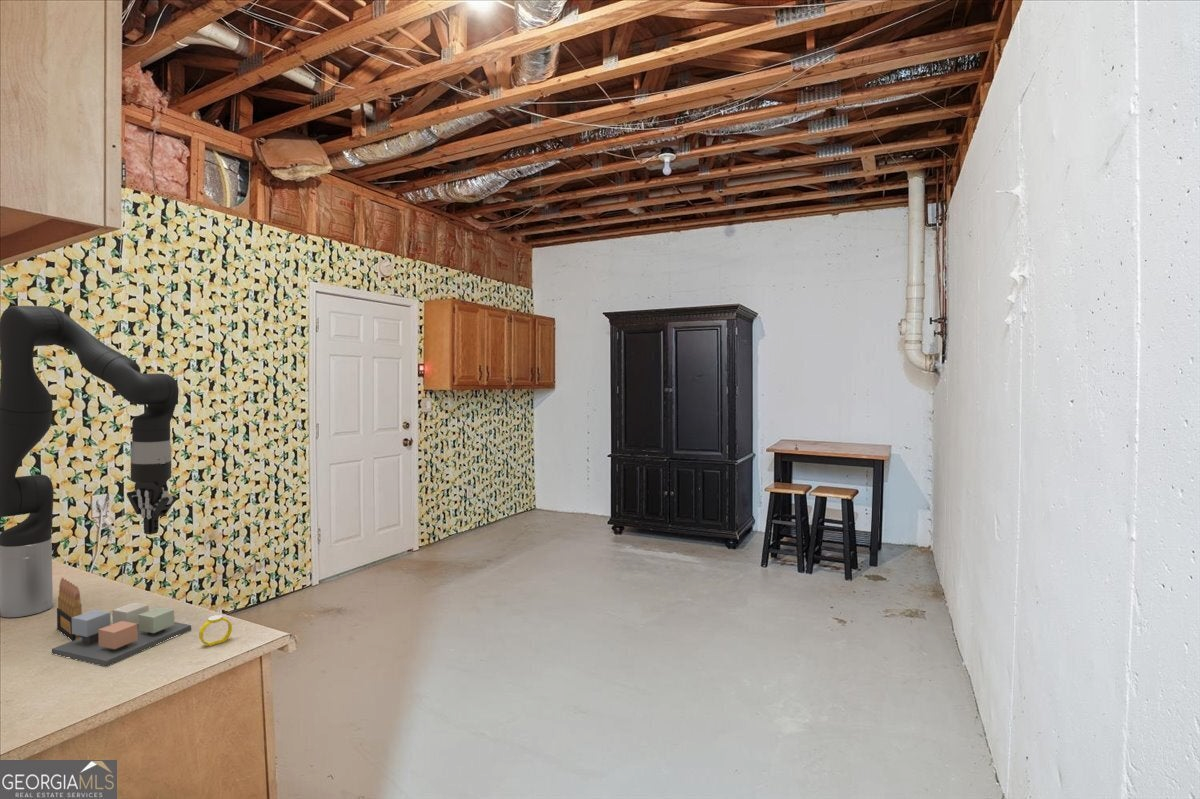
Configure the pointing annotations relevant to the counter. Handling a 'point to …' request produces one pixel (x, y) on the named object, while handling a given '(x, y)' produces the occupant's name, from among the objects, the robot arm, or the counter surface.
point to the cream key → (128, 613)
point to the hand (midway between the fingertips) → (151, 533)
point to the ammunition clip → (68, 608)
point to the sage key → (156, 620)
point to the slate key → (90, 622)
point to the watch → (213, 620)
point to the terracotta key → (118, 634)
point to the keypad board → (117, 654)
